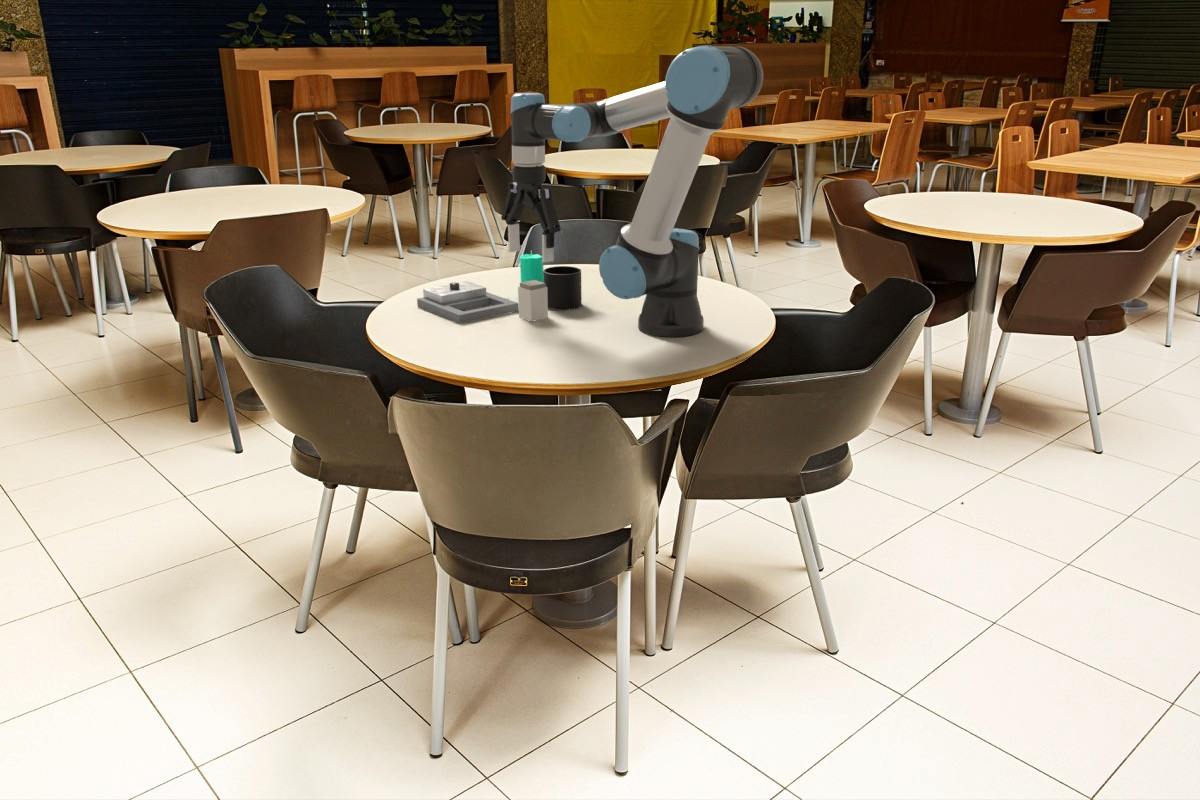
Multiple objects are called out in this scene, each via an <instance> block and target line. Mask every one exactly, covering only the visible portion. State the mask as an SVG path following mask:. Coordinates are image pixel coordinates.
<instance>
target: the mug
mask: <svg viewBox="0 0 1200 800" xmlns="http://www.w3.org/2000/svg"><path fill="white" fill-rule="evenodd" d="M543 274H544V283H545V286H546V287H547V296H548V309H550V310H551V309H552V310H555V311H557V310H558V311H566V310H567V311H568V310H569V309H570V310H573V309H577V308H580V307H581V306H582V302H583V301H582V269H581V268H578V267H575V266H568V265H567V266H566V265H563V266H562V265H560V266H559V265H557V266H551V267H548V268H546V267H545V269H543ZM570 310H569V311H570Z"/></svg>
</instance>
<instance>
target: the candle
mask: <svg viewBox="0 0 1200 800" xmlns="http://www.w3.org/2000/svg"><path fill="white" fill-rule="evenodd" d="M519 264H520V266H519V267H520V268H519V269H520V283H521V282H527V281H532V280H536V281H540V282H543V283H544V274H543V271H544V262H542V255H540V254H537V253H536V254H533V252H532V250H530V253H529V254H528V253H526V254H522V255H520V256H519Z"/></svg>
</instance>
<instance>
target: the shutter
mask: <svg viewBox="0 0 1200 800" xmlns="http://www.w3.org/2000/svg"><path fill="white" fill-rule="evenodd" d="M486 292H487V287H485V286H484V285H483V286H482V285H480V284H477V283H474V282H470V281H467V280H466V281H461V282H451V283H449V284H443V285H439V286H433V287H426V288H423V289H422V293H423V297H425V298H428V299H430V300H433V301H436V302H438V303H441V304H444V303H450V302H455V301H460V300H465V299H470V298H475V297H480V296H485V295H486Z"/></svg>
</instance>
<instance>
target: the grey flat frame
mask: <svg viewBox="0 0 1200 800" xmlns="http://www.w3.org/2000/svg"><path fill="white" fill-rule="evenodd" d="M416 304H417V305H416V306H417V307H418V308H420V309H423V310H426V311H428V312H430V313H433V314H436V315H438V316H440V317H443V318H445V319H448V320H449V321H453V322H455V323H457V324H462V323H467V322H468V323H469V322H473V321H477V320H478V321H479V320H482V319H486V318H491V317H492V318H493V317H496V316H501V315H506V314H511V313H516V312H519V302H516V301H513V300H510V299H508V298H506V297H502V296H500V295H498V294H497V295H496V294H493V293H490V292H487V291H486V295H485V296H480V297H475V298H470V299H465V300H460V301H455V302H450V303H444V304H441V303H438V302H436V301H433V300H430V299H428V298H425V297H424V296H423V297H419V298H416ZM515 311H516V312H515ZM510 312H511V313H510Z"/></svg>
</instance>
